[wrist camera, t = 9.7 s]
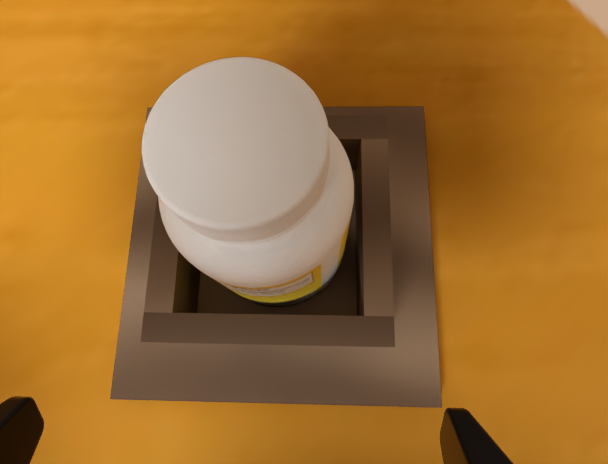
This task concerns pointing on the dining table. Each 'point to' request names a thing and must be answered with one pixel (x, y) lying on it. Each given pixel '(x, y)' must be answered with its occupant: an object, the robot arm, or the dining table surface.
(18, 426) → the robot arm
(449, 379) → the dining table surface
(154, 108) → the supplement bottle
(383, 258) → the socket holder
